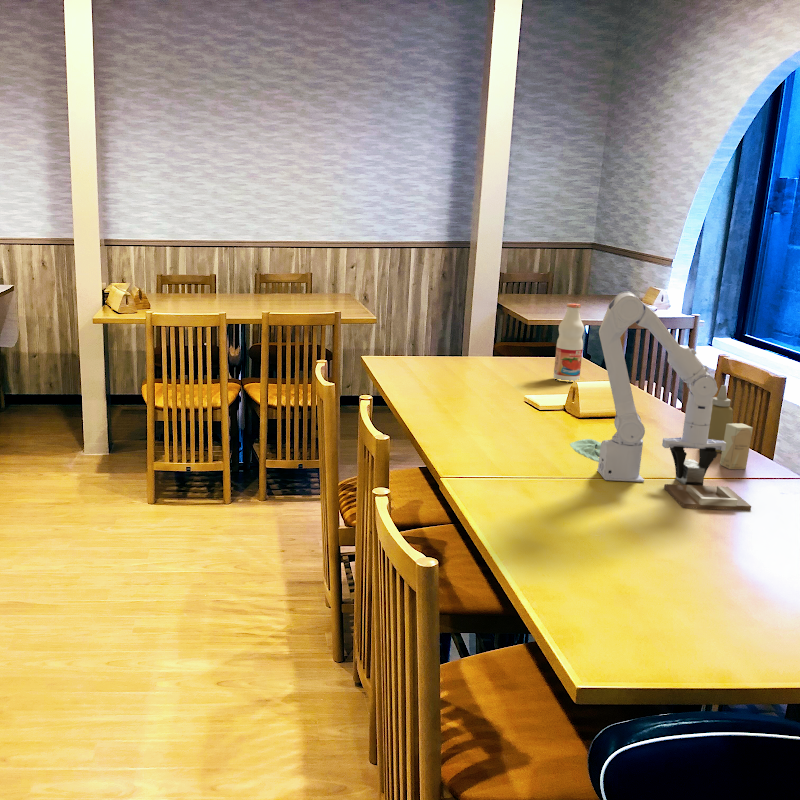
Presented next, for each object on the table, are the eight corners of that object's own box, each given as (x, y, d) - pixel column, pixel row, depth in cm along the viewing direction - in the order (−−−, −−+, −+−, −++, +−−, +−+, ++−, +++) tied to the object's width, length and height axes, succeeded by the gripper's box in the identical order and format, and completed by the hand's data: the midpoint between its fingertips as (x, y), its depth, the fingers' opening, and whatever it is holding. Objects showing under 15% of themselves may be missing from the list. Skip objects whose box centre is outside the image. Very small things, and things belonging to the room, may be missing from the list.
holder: (684, 508, 191) (685, 497, 191) (664, 488, 205) (665, 477, 204) (751, 511, 192) (753, 500, 192) (727, 490, 205) (728, 480, 205)
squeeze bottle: (732, 455, 235) (742, 390, 230) (700, 452, 236) (710, 387, 232) (727, 447, 242) (736, 384, 238) (697, 444, 244) (705, 381, 240)
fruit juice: (568, 376, 327) (575, 302, 321) (584, 382, 319) (592, 305, 312) (548, 378, 323) (555, 302, 316) (564, 383, 315) (571, 305, 308)
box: (729, 469, 222) (735, 427, 219) (719, 464, 226) (725, 423, 223) (747, 469, 223) (753, 427, 221) (736, 463, 227) (742, 422, 225)
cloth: (578, 439, 245) (579, 430, 244) (657, 454, 234) (658, 445, 234) (551, 455, 228) (552, 446, 227) (634, 473, 217) (636, 463, 217)
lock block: (685, 488, 206) (688, 468, 205) (675, 478, 213) (677, 459, 211) (702, 488, 206) (705, 468, 205) (691, 479, 213) (694, 459, 212)
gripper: (672, 425, 202) (665, 481, 205) (734, 428, 202) (726, 484, 205) (662, 417, 208) (655, 472, 212) (722, 420, 209) (714, 474, 212)
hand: (689, 477), depth 209 cm, fingers open, 5 cm apart
